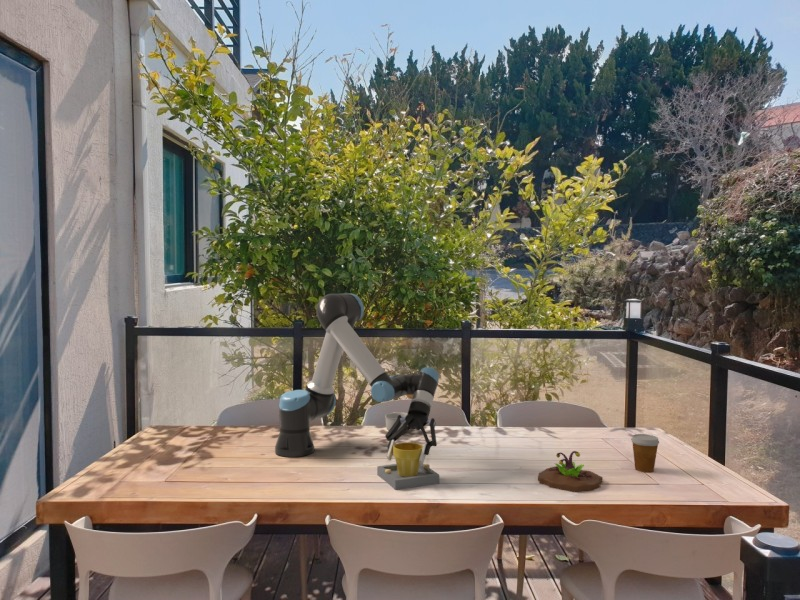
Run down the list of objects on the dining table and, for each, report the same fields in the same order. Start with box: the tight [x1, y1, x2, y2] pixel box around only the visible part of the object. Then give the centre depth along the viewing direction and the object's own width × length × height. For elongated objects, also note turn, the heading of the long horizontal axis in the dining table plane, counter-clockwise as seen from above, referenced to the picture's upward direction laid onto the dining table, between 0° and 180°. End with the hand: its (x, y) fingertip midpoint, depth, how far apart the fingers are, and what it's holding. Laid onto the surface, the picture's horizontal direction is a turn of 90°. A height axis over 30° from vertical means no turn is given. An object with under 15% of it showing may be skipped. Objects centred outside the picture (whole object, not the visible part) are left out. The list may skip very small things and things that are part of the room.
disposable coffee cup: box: [630, 433, 660, 473], centre depth 221 cm, size 10×10×12 cm
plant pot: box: [392, 441, 423, 477], centre depth 209 cm, size 10×10×10 cm
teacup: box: [384, 411, 408, 432], centre depth 273 cm, size 14×11×8 cm
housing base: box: [376, 463, 440, 490], centre depth 209 cm, size 16×16×4 cm
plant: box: [537, 450, 603, 494], centre depth 208 cm, size 20×20×11 cm
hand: (404, 460), depth 206 cm, fingers open, 11 cm apart
